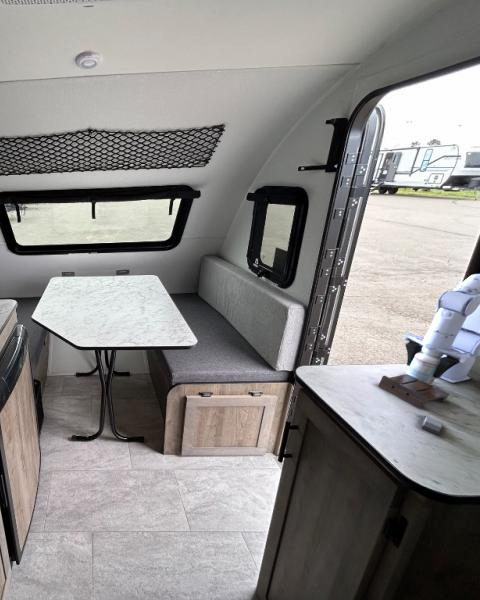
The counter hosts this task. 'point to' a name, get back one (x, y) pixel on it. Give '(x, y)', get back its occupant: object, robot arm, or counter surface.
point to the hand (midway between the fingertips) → (422, 370)
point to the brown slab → (412, 389)
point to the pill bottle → (425, 365)
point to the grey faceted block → (431, 425)
